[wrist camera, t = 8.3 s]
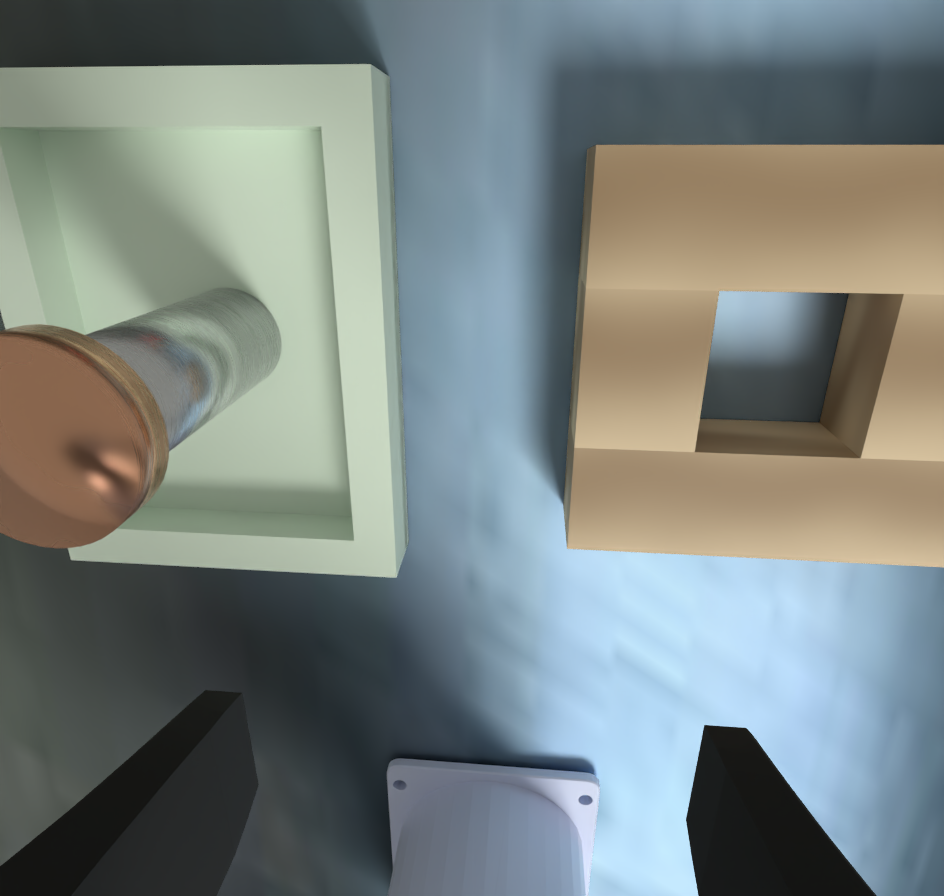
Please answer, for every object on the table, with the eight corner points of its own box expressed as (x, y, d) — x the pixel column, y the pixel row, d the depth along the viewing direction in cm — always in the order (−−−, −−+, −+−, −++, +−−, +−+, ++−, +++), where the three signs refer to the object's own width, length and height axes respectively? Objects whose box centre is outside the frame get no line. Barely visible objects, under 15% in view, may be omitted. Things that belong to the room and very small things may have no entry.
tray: (408, 542, 21) (396, 577, 19) (110, 527, 22) (71, 560, 20) (389, 77, 16) (370, 64, 14) (-2, 80, 16) (-69, 68, 15)
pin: (305, 404, 19) (157, 553, 11) (179, 400, 19) (-44, 543, 12) (291, 269, 17) (110, 340, 10) (154, 267, 17) (-119, 335, 10)
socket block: (902, 520, 19) (953, 567, 17) (563, 505, 20) (567, 548, 18) (1015, 149, 15) (1101, 144, 13) (587, 149, 16) (596, 144, 14)
